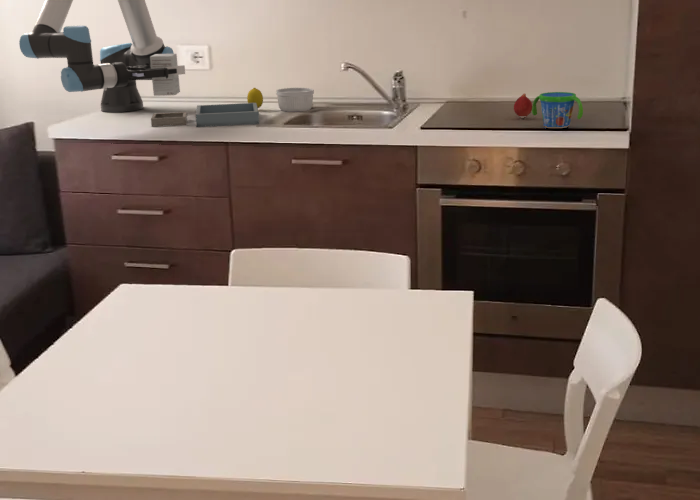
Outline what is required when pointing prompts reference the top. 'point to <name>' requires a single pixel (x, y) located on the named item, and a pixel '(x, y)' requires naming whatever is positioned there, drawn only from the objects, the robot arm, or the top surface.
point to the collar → (169, 119)
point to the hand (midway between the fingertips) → (176, 68)
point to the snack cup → (557, 108)
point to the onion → (523, 106)
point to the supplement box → (161, 83)
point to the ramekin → (295, 99)
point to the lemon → (255, 97)
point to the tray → (227, 114)
